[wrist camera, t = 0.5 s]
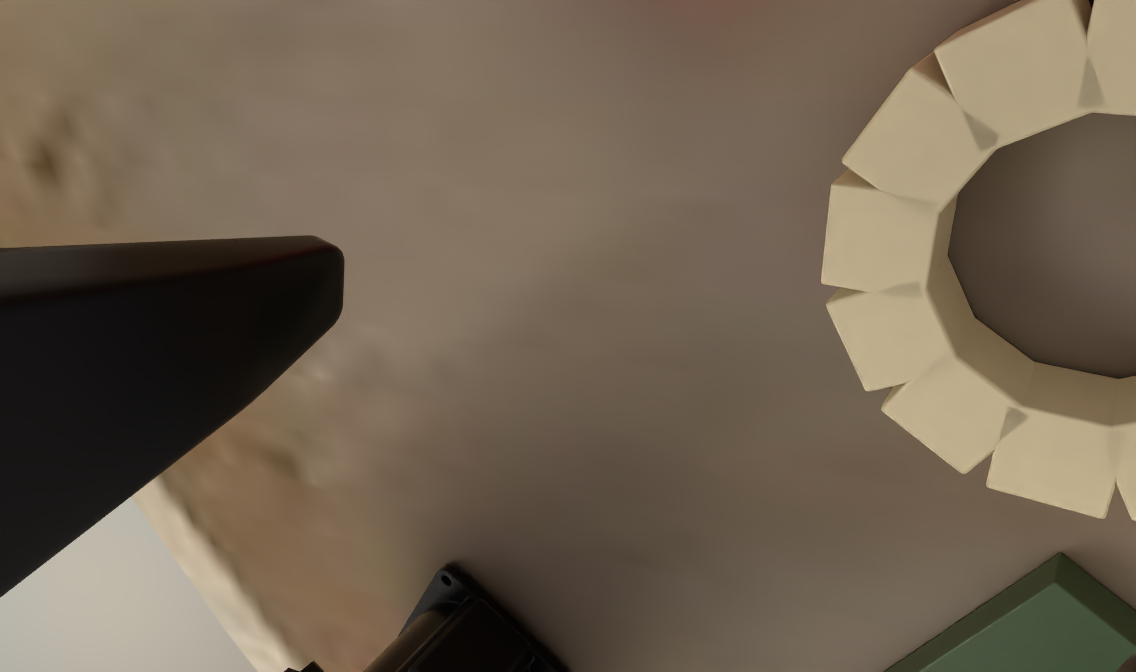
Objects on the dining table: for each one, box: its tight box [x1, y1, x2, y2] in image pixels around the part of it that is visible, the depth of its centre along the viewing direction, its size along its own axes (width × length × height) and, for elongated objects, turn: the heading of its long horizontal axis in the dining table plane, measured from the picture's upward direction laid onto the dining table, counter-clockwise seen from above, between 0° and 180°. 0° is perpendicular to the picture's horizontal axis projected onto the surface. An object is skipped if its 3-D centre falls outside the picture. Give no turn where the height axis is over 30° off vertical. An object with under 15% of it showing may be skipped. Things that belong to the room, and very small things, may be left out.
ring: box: [821, 0, 1136, 521], centre depth 17 cm, size 10×10×2 cm
